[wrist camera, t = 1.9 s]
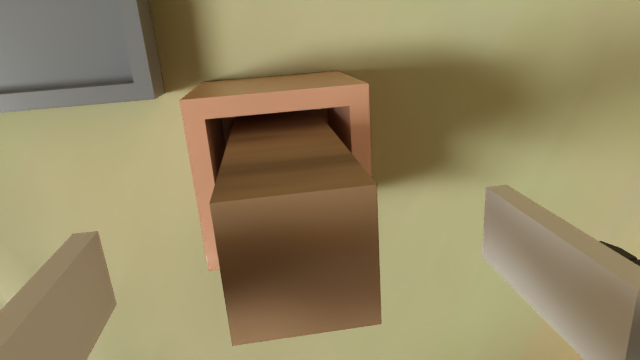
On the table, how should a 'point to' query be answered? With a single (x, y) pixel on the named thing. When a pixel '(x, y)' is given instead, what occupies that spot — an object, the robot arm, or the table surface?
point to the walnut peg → (294, 230)
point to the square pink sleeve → (261, 98)
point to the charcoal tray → (76, 53)
